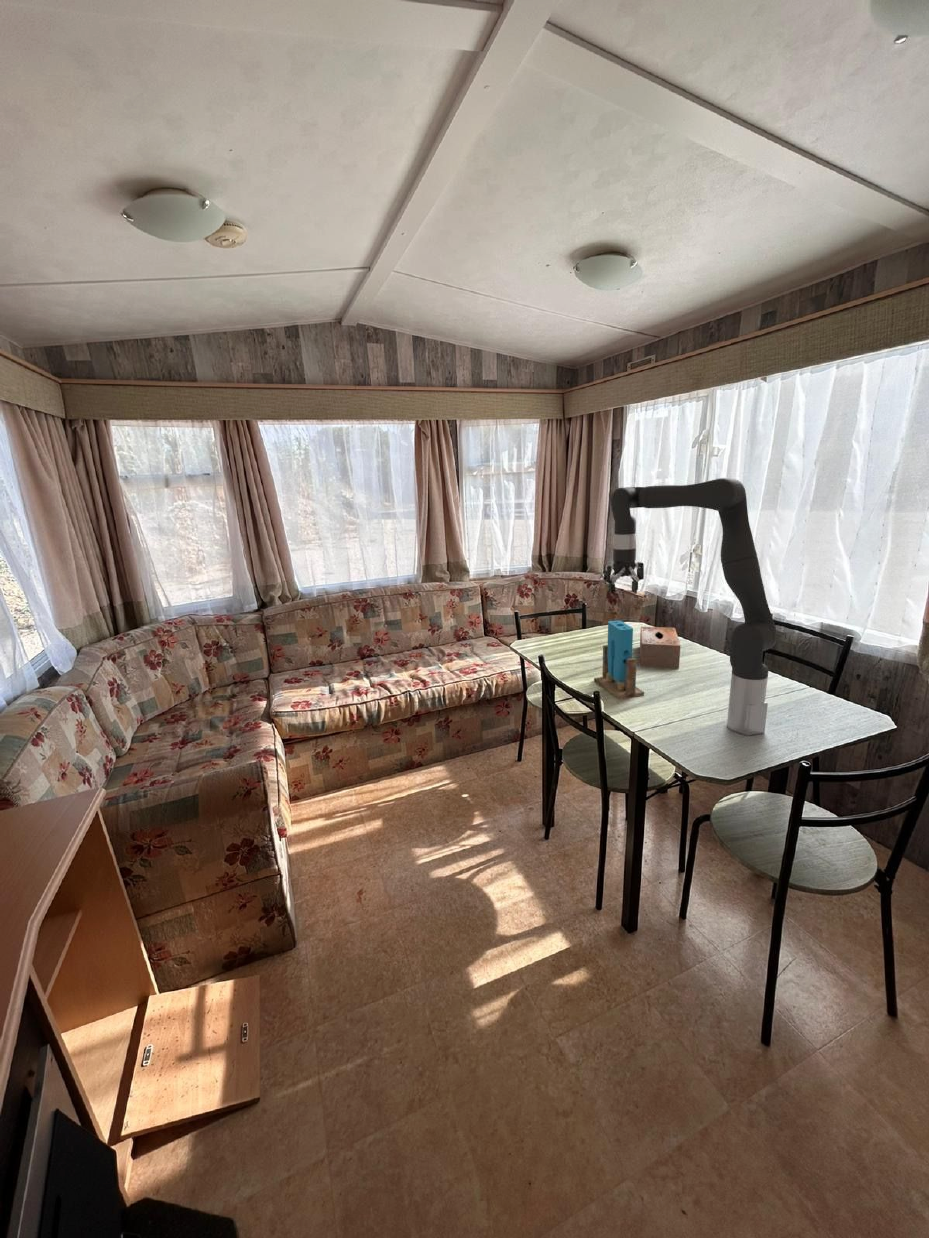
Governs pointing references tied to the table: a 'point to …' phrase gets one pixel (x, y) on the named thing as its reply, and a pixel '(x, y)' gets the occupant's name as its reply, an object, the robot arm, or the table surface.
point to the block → (619, 649)
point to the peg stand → (619, 688)
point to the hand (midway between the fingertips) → (623, 593)
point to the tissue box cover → (659, 647)
